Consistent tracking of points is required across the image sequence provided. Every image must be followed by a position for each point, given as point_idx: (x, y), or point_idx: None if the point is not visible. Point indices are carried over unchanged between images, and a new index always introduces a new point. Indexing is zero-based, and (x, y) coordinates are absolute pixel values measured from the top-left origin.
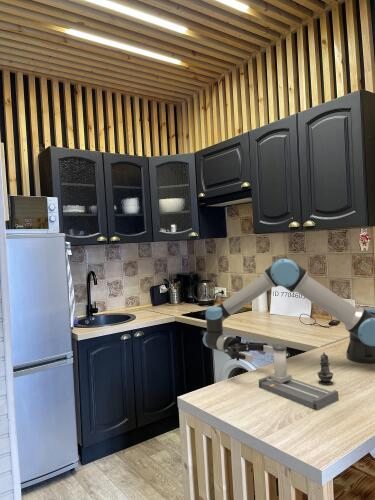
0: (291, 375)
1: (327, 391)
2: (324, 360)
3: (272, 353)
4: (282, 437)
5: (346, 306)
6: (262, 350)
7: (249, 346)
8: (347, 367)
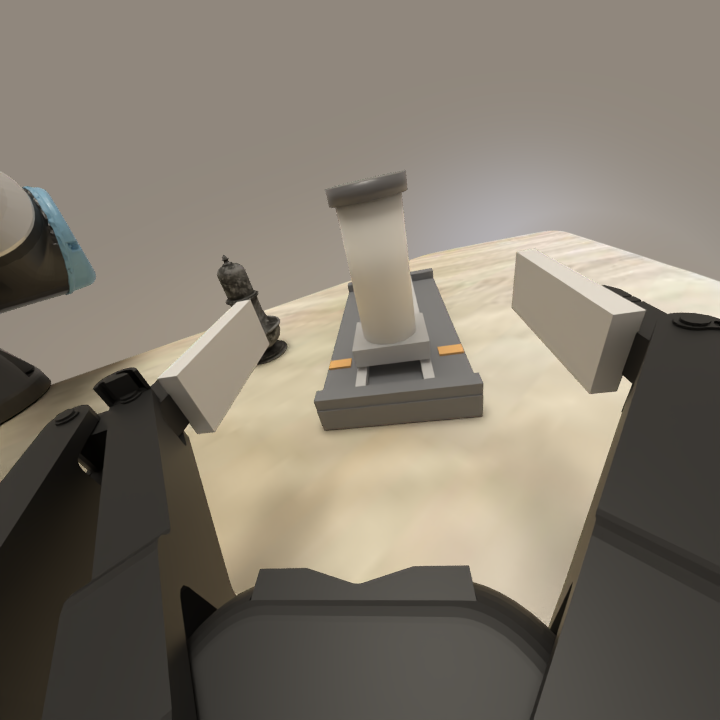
0: (357, 324)
1: (352, 297)
2: (247, 277)
3: (256, 355)
4: (577, 254)
5: None
6: (189, 449)
7: (194, 555)
8: (96, 393)
